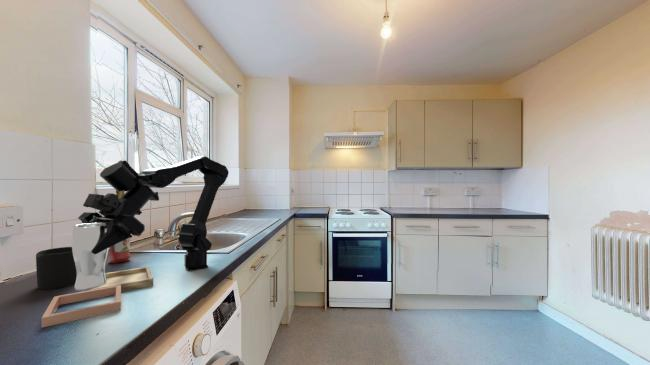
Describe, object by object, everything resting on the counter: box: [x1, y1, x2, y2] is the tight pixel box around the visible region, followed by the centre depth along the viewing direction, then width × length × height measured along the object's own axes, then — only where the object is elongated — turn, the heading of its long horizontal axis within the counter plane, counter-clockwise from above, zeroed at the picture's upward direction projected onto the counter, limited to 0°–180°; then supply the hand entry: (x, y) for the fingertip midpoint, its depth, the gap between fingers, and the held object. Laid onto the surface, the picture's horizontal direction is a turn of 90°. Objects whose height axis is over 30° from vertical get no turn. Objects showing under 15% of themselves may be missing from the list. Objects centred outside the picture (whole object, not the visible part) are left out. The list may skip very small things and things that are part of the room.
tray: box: [89, 266, 154, 292], centre depth 79 cm, size 14×14×2 cm
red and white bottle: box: [107, 189, 131, 264], centre depth 101 cm, size 7×7×28 cm
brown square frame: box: [41, 285, 122, 329], centre depth 64 cm, size 13×13×2 cm
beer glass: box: [71, 223, 109, 291], centre depth 66 cm, size 7×7×15 cm
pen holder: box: [35, 246, 77, 291], centre depth 78 cm, size 9×9×10 cm
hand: (84, 251), depth 64 cm, fingers closed on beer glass, 7 cm apart
